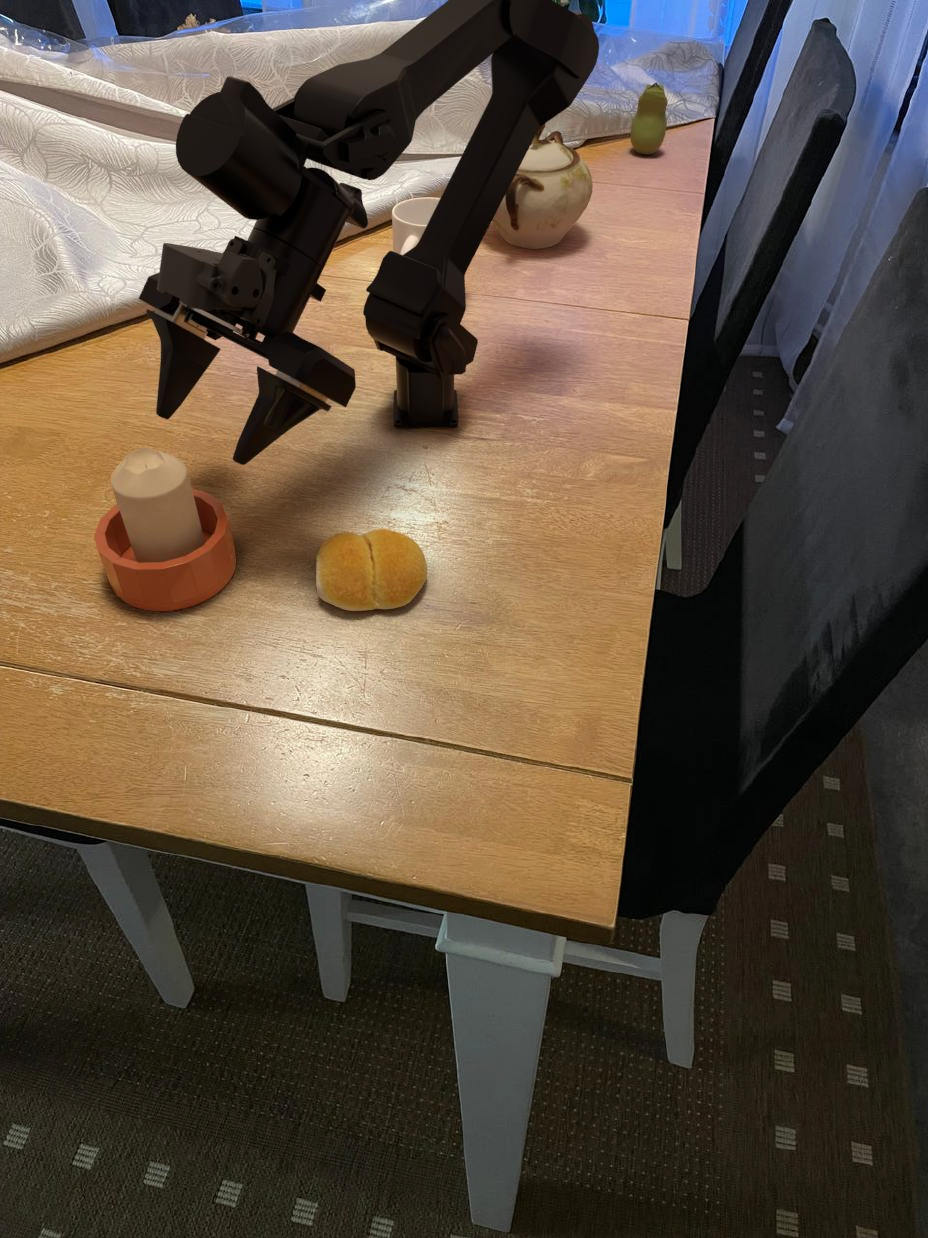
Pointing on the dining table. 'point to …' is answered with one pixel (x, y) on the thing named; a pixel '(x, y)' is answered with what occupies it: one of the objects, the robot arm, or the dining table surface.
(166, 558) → the candle
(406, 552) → the bread roll
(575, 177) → the sugar bowl
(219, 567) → the round reddish orange bowl
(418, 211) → the mug
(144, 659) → the dining table surface
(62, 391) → the dining table surface
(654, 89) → the pear
